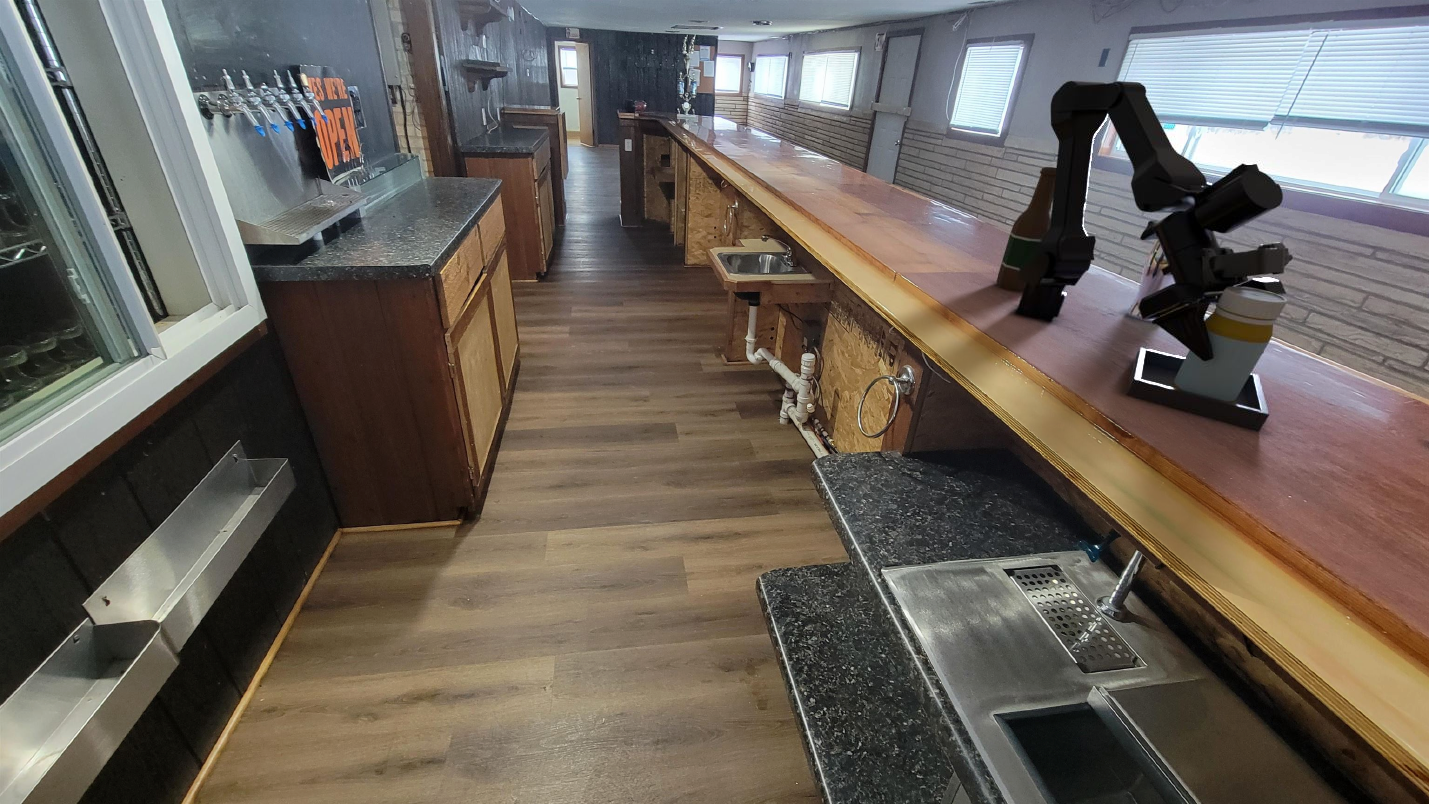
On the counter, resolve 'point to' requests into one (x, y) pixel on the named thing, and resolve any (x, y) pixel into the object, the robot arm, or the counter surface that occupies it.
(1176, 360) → the tray
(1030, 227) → the beer bottle
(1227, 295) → the bottle
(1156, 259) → the beer glass
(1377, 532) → the counter surface
